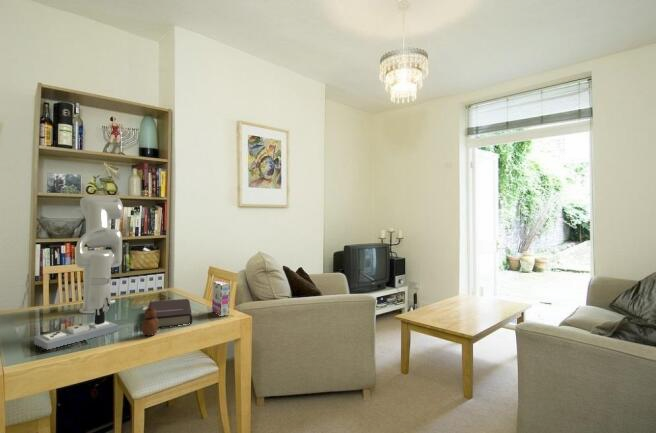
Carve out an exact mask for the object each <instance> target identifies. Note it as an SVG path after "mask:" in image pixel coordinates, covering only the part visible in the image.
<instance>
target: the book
mask: <svg viewBox="0 0 656 433" xmlns="http://www.w3.org/2000/svg"><path fill="white" fill-rule="evenodd" d="M150 302H151V303H152V308H154V309H156V311H157V315H156V316H155V317H156V318H158V321H159V326H158V328H160V329H163V328H162V327H169V328H171V327H170V326H178V325H183V324H189V323H190V324H191V325H192V324H193V319H194V318H193V313H192V307H191V302H190V300H189V299H188V298H180V299H169V300H157V301H150ZM150 302H149V304H148V308H147V309H150ZM178 327H179V326H178Z"/></svg>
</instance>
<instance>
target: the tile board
mask: <svg viewBox="0 0 656 433" xmlns="http://www.w3.org/2000/svg"><path fill="white" fill-rule="evenodd" d="M105 322H108V323H110V325H107V326H103V327H99V328H93V327H90V326H89V324H92V323H95V321H93V322H88V323H85V324H86V325H88V326H89V330H88V331H84V332H80V333H76V334H71V333H69V332H67V330H68V327H67V328H64V329H59V330H56V331H52V332H47V333H44V334H40V335H39V334H38V335H35V336H33V344H34V346H36V345H37V347H38V346H39V348H40V347H42V348H44V349H47V350H48V349H52V348H56V347H60V346H63V345H67V344H71V343H75V342H79V341H83V340H86V341H88V340H87V339H90V338H93V339H95V338H94V337H97V338H99V337H98V336H100V337H102V336H101V335H104V336H106V335H105V334H107V335H110V334H109V333H111V334H113V333H112V332H115V333H117V332H116V331H119V325H118V324H116V323H114V322H111V321H108V320H106V319H105ZM59 331H61V332H63V333H65V334H67V335H66V336H64V337H61V338H57V339H53V340H49V341H48V340H46V339H44V338H43V335H47V334H51V333H55V332H59ZM90 340H91V339H90ZM83 342H84V341H83ZM79 343H80V342H79ZM75 344H76V343H75ZM42 348H41V349H42ZM44 349H43V350H44Z"/></svg>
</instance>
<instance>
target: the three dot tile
mask: <svg viewBox="0 0 656 433" xmlns="http://www.w3.org/2000/svg"><path fill="white" fill-rule="evenodd" d="M58 331H59V330H58ZM54 332H55V331H54ZM50 333H51V332H50ZM46 334H47V333H46ZM42 335H43V334H42ZM66 335H67V334H65V333H63V332H61V331H59V332H55V333H51V334H47V335H43V338H44V339H46V340H48V341H49V340H53V339H57V338H61V337H64V336H66Z"/></svg>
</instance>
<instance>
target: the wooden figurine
mask: <svg viewBox="0 0 656 433" xmlns="http://www.w3.org/2000/svg"><path fill="white" fill-rule="evenodd" d="M151 302H152V301H150V302H149V303H150V309H148V308H147V309H146V310H144V319H143V321H142V323H141V331H142V334H143V336H145V335H152V334H155V333H156V334H157V332H158V330H159V329H158V326H159V321H158V318H156V317H155V316H156V315H157V311H156V309H154V308H152V303H151ZM156 334H155V335H156Z"/></svg>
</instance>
